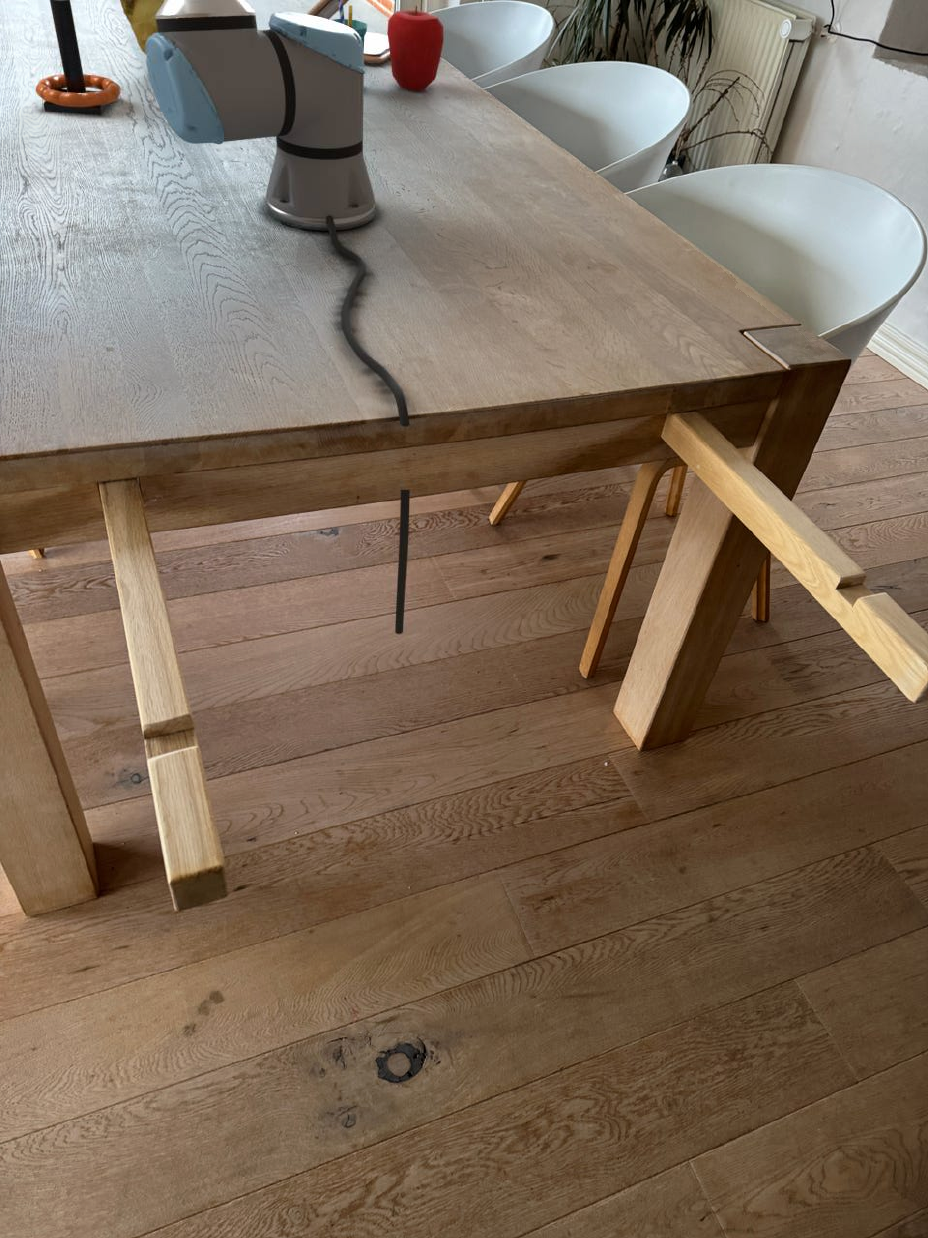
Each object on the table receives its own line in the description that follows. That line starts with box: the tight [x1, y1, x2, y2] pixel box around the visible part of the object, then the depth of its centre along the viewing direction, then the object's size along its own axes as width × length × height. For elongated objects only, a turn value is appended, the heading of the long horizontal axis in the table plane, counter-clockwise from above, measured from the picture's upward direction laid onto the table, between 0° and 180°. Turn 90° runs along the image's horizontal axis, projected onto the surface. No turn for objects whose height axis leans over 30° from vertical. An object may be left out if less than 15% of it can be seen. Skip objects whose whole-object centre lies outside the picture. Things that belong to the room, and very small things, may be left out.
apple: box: [386, 5, 445, 92], centre depth 174 cm, size 11×10×14 cm
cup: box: [331, 0, 368, 54], centre depth 169 cm, size 14×8×15 cm, turn 24°
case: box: [305, 0, 390, 64], centre depth 190 cm, size 20×21×16 cm
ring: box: [35, 73, 122, 107], centre depth 152 cm, size 13×13×2 cm
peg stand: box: [42, 0, 111, 116], centre depth 148 cm, size 9×9×15 cm
